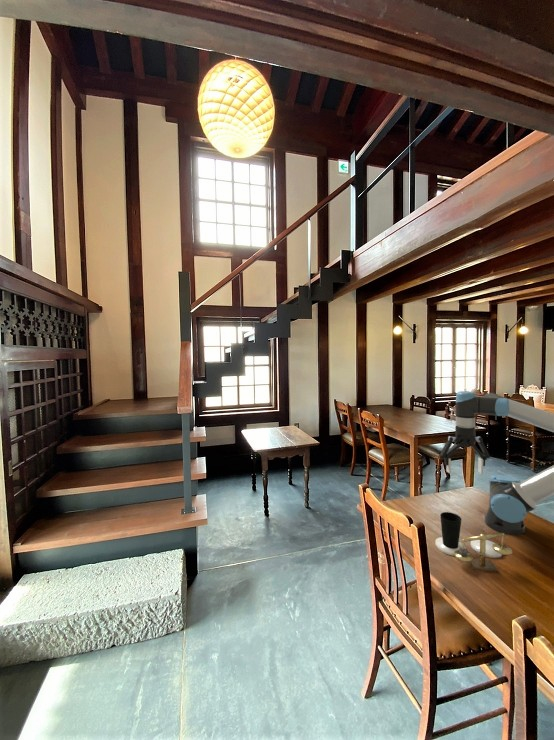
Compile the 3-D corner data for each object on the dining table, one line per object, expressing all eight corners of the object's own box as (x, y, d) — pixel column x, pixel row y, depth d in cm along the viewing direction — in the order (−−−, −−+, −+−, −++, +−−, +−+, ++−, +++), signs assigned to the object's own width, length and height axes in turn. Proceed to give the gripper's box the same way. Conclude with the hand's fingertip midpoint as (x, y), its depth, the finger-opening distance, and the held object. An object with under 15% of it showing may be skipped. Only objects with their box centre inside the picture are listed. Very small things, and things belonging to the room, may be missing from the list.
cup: (464, 551, 126) (464, 522, 125) (443, 549, 128) (443, 520, 127) (457, 540, 134) (457, 512, 133) (437, 538, 135) (437, 511, 135)
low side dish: (458, 540, 136) (458, 537, 135) (470, 556, 125) (470, 553, 125) (431, 539, 137) (431, 536, 137) (441, 555, 126) (441, 552, 126)
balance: (505, 562, 121) (506, 528, 120) (515, 573, 115) (516, 537, 114) (451, 559, 123) (451, 526, 122) (458, 570, 117) (459, 535, 116)
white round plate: (492, 541, 134) (492, 539, 134) (508, 558, 123) (508, 555, 123) (465, 540, 135) (465, 537, 135) (478, 557, 124) (479, 554, 124)
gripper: (490, 424, 143) (489, 469, 144) (432, 423, 146) (432, 468, 147) (500, 428, 135) (498, 476, 137) (439, 427, 138) (438, 475, 139)
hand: (464, 472), depth 142 cm, fingers open, 13 cm apart
